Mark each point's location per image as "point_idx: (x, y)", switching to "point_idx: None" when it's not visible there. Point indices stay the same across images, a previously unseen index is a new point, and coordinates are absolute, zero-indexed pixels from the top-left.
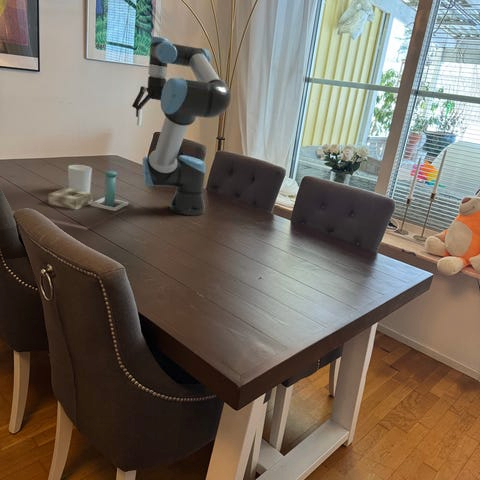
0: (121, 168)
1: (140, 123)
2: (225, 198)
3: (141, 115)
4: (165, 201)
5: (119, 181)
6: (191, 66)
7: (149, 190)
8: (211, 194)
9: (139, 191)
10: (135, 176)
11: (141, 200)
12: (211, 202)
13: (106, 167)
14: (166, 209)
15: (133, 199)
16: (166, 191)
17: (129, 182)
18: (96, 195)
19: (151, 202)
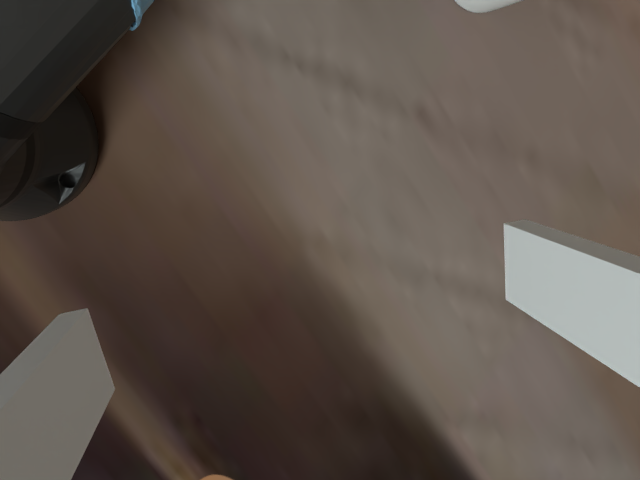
0: (565, 432)
1: (518, 278)
2: None
3: (607, 346)
4: (170, 179)
5: (475, 276)
6: None
7: (319, 267)
8: (107, 440)
9: (338, 219)
10: (472, 389)
11: (250, 104)
12: (23, 338)
13: (609, 395)
14: None
15: (283, 89)
16: (263, 315)
17: (441, 298)
18: (424, 12)
19: (201, 113)
